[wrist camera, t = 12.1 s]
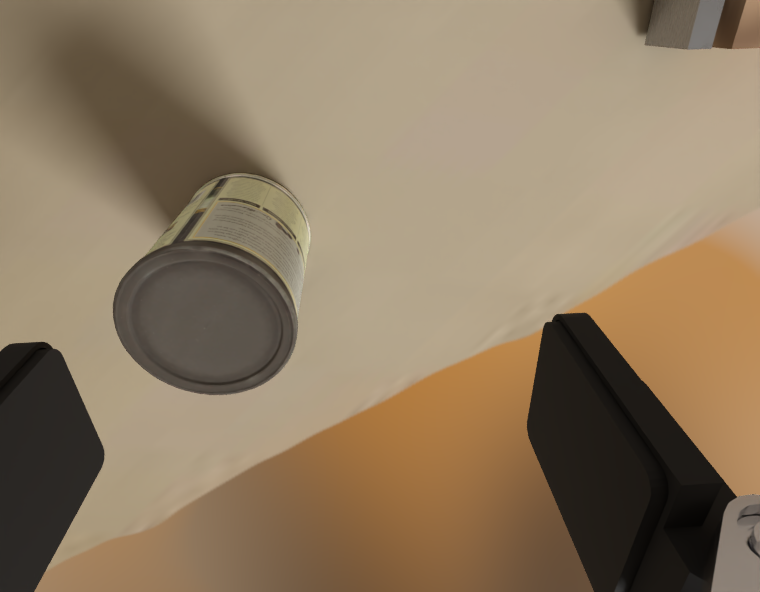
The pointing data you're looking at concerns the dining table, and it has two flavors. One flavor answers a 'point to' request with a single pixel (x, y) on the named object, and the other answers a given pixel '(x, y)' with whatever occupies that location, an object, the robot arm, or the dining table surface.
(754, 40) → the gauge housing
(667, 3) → the grey angular frame piece
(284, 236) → the coffee can
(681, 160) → the dining table surface
